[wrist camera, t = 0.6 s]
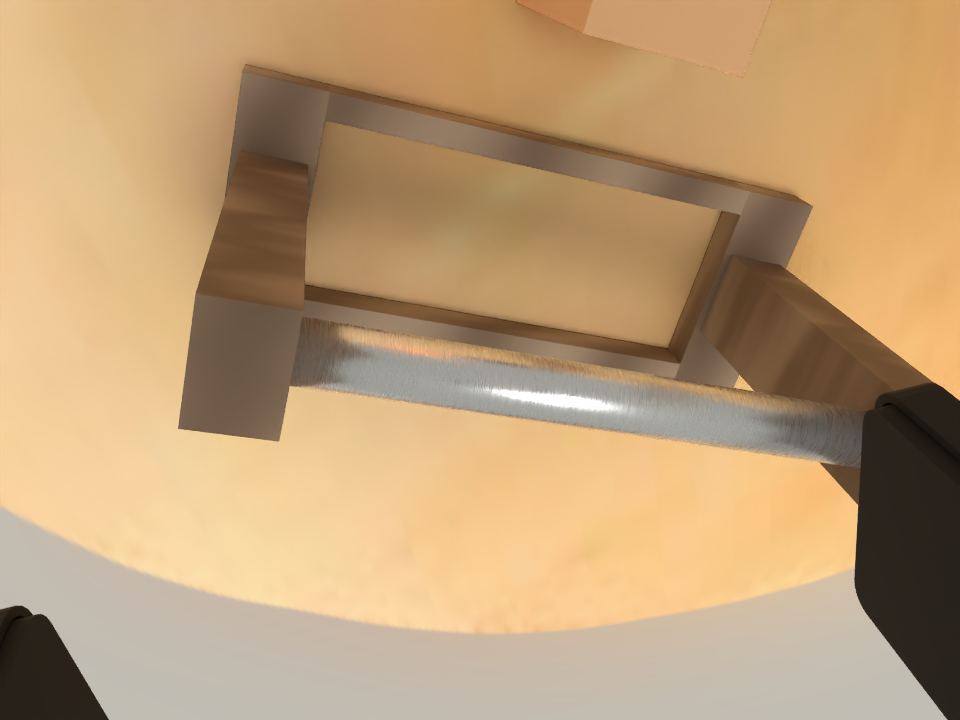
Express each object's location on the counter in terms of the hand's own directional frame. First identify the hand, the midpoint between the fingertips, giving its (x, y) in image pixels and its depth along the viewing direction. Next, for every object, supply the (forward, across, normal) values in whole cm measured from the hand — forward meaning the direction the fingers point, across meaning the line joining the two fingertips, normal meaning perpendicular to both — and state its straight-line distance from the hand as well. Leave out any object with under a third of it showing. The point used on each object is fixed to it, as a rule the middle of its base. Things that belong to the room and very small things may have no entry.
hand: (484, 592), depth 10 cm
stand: (+26, -4, +6) cm, 27 cm away
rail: (+14, -5, +6) cm, 16 cm away
